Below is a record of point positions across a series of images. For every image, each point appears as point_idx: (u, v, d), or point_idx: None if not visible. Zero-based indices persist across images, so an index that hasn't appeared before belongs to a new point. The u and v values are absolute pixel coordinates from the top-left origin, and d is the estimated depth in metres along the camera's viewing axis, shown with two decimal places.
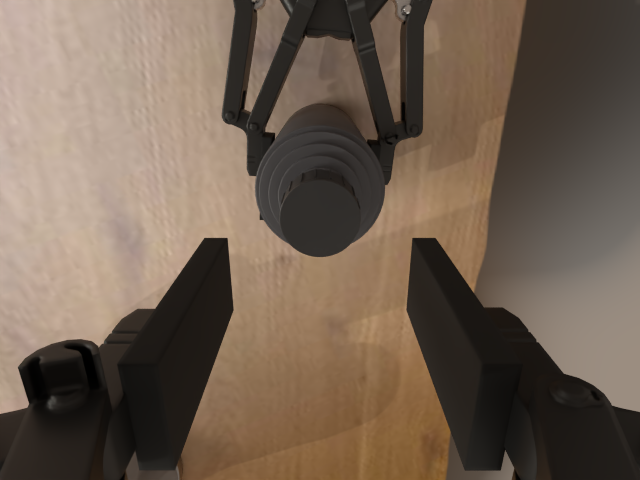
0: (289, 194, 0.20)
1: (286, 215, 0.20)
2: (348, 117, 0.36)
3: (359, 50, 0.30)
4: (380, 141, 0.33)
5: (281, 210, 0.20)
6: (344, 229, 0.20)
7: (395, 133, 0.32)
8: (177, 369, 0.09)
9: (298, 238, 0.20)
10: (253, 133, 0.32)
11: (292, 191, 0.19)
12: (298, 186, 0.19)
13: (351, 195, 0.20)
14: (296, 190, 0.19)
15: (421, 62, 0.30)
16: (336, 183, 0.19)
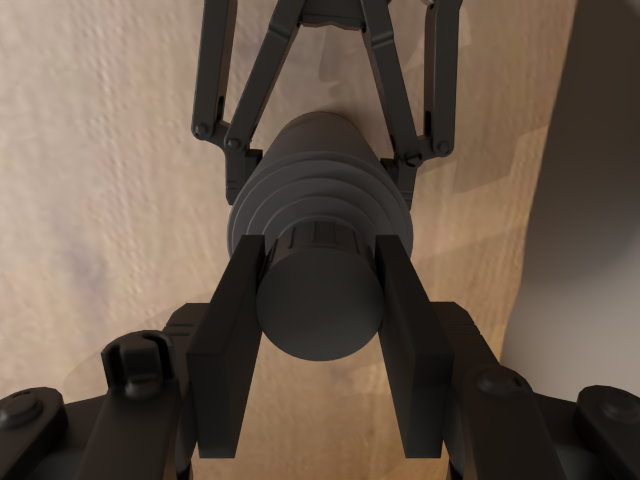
0: (270, 269, 0.12)
1: (266, 301, 0.12)
2: (355, 129, 0.28)
3: (373, 42, 0.22)
4: (398, 161, 0.25)
5: (258, 293, 0.12)
6: (358, 322, 0.13)
7: (418, 152, 0.24)
8: (235, 360, 0.09)
9: (286, 334, 0.13)
10: (233, 152, 0.24)
11: (275, 265, 0.12)
12: (285, 257, 0.12)
13: (370, 271, 0.12)
14: (281, 264, 0.12)
15: (454, 59, 0.23)
16: (346, 253, 0.12)
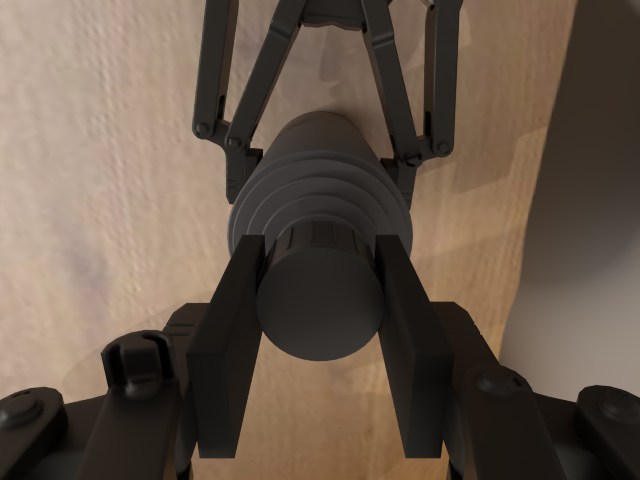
0: (295, 355, 0.13)
1: (328, 352, 0.13)
2: (356, 129, 0.28)
3: (373, 43, 0.22)
4: (398, 161, 0.25)
5: (323, 359, 0.13)
6: (323, 269, 0.12)
7: (418, 152, 0.25)
8: (235, 360, 0.09)
9: (360, 328, 0.13)
10: (233, 151, 0.25)
11: (289, 353, 0.13)
12: (279, 347, 0.13)
13: (265, 275, 0.12)
14: (286, 349, 0.13)
15: (454, 59, 0.23)
16: None
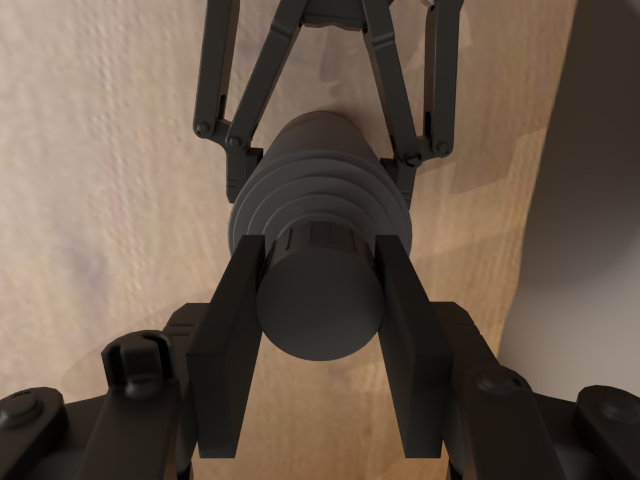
0: (382, 313, 0.13)
1: (369, 286, 0.12)
2: (356, 129, 0.29)
3: (374, 43, 0.22)
4: (397, 161, 0.25)
5: (380, 287, 0.12)
6: (278, 316, 0.13)
7: (418, 152, 0.25)
8: (236, 360, 0.09)
9: (331, 265, 0.12)
10: (234, 150, 0.25)
11: (381, 320, 0.13)
12: (377, 329, 0.13)
13: (303, 357, 0.13)
14: (376, 324, 0.13)
15: (454, 60, 0.23)
16: (332, 359, 0.13)
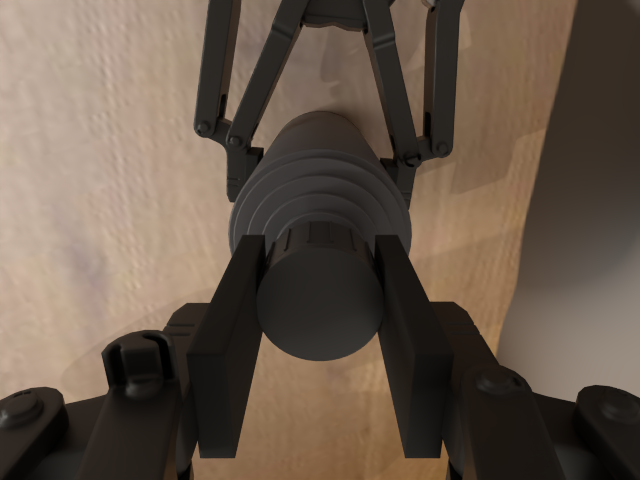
0: (307, 250, 0.12)
1: (281, 272, 0.12)
2: (356, 129, 0.29)
3: (374, 44, 0.22)
4: (397, 161, 0.26)
5: (279, 262, 0.12)
6: (340, 339, 0.13)
7: (417, 152, 0.25)
8: (236, 360, 0.09)
9: (273, 310, 0.13)
10: (234, 149, 0.25)
11: (314, 249, 0.12)
12: (327, 248, 0.12)
13: None
14: (321, 252, 0.12)
15: (454, 61, 0.23)
16: (377, 279, 0.12)
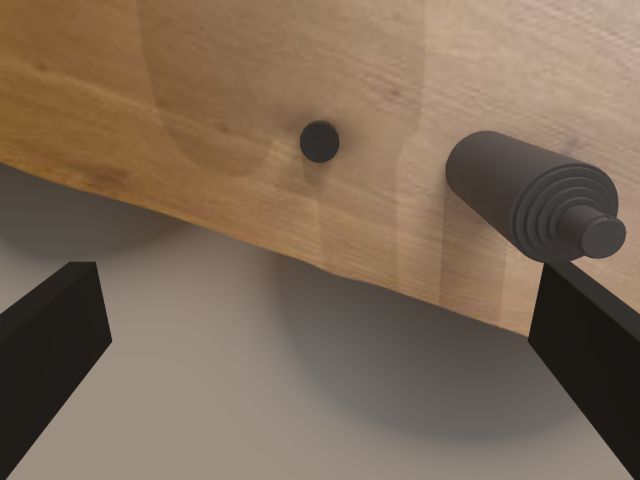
0: (303, 152, 0.42)
1: (312, 157, 0.42)
2: None
3: None
4: None
5: (309, 158, 0.42)
6: (328, 133, 0.42)
7: None
8: None
9: (324, 156, 0.42)
10: None
11: (302, 150, 0.42)
12: (301, 146, 0.42)
13: (313, 124, 0.41)
14: (302, 148, 0.42)
15: None
16: (305, 129, 0.41)
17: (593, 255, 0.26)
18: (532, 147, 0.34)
